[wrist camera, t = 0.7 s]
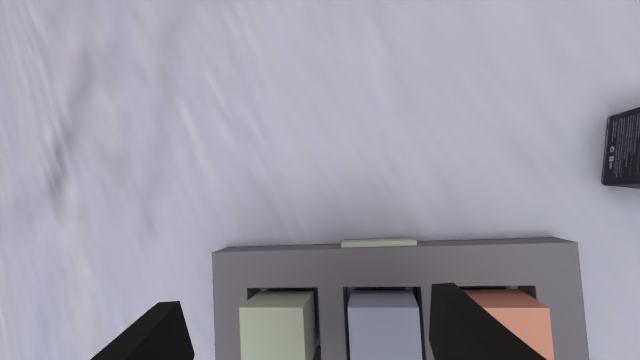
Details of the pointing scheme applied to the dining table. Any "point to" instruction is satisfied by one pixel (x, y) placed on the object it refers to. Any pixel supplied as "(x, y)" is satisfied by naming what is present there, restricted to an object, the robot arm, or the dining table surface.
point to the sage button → (278, 326)
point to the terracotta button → (519, 316)
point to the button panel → (400, 282)
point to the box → (623, 150)
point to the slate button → (384, 325)
